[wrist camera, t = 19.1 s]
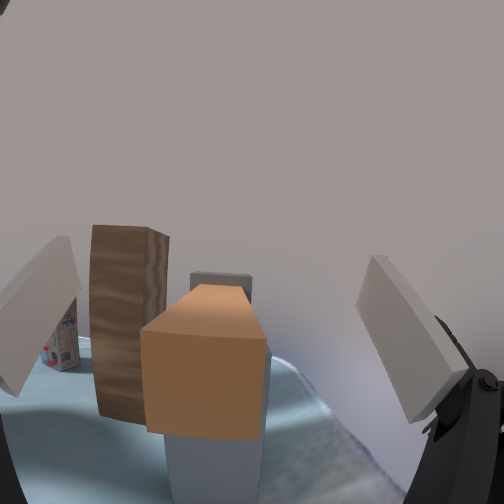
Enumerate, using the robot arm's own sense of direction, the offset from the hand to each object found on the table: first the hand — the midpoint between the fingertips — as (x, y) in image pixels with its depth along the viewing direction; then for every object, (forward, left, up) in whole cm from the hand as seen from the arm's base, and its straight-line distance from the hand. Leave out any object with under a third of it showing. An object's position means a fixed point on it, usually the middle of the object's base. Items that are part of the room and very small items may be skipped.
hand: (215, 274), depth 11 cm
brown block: (-5, +8, -6) cm, 11 cm away
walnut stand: (-27, +19, -24) cm, 41 cm away
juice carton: (-50, +16, -24) cm, 58 cm away
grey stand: (-7, +12, -24) cm, 28 cm away
